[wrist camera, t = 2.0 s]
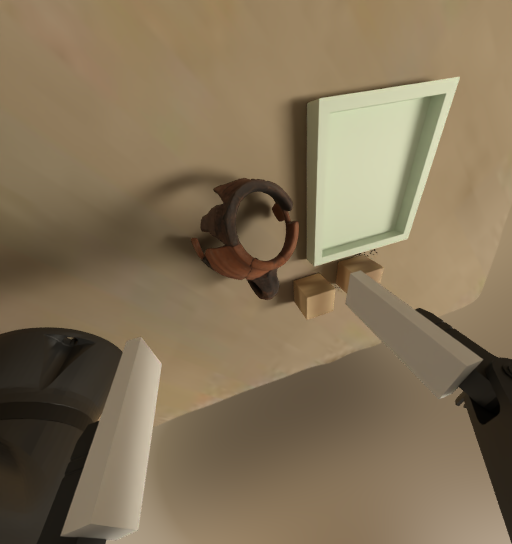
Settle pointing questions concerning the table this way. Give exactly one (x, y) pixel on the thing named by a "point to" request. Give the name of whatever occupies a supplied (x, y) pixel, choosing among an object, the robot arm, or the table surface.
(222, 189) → the broken pot
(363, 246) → the tray
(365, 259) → the oak cube
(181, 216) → the table surface
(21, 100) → the table surface
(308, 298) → the oak cube
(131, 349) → the robot arm
